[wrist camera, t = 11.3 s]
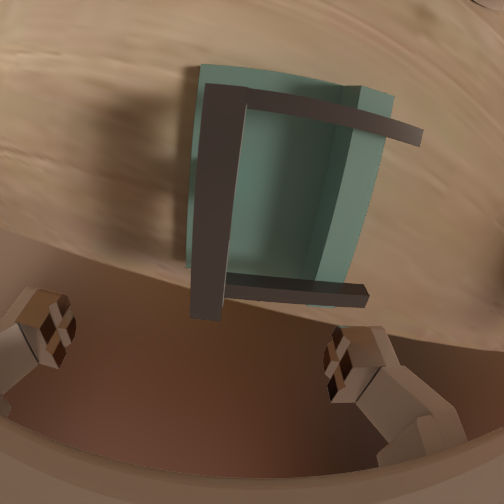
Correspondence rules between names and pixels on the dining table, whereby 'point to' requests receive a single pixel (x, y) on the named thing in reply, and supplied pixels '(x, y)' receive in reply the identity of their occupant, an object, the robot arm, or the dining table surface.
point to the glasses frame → (224, 188)
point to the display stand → (296, 179)
